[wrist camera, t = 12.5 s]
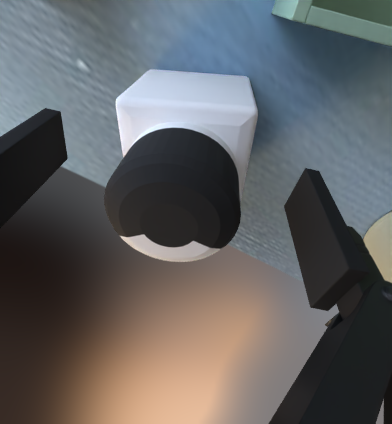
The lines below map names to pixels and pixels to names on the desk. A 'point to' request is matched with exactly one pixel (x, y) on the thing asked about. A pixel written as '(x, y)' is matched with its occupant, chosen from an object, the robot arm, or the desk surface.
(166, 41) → the desk surface
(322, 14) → the bin
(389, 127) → the desk surface
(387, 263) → the can
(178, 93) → the medicine bottle
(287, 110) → the desk surface
